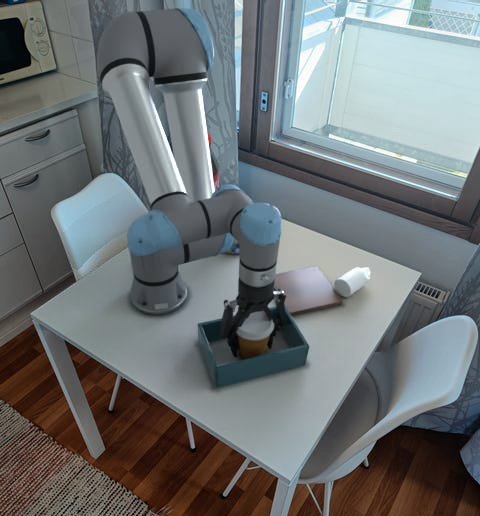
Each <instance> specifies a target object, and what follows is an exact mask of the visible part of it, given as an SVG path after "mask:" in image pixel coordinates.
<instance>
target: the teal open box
mask: <svg viewBox="0 0 480 516" xmlns="http://www.w3.org/2000/svg"><path fill="white" fill-rule="evenodd" d="M284 306H285V305H284ZM269 309H270V311H271V313H272V315H273V317H274V319H276V318H277V310H276V305H275V306H271V307H269ZM235 315H236V314H235ZM235 315H234V314H233V318H234V317H235ZM285 316H286V324H285V325H284V326H282V325H280V326H279V328H280V329H281V330H282V332H283V334H284V335H285V338H286V339H287V341H288V343H289V344H290V346H291V347H290V348H286V349H281V350H277V351H274V352H269V353H264V355H261V356H257V357H253V358H249V359H245V360H241V359H240V360H237V361H234V362H229V363H225V364H221V365H218V364H217V361H216V358H215V356H214V354H213V351H212V348H211V346H210V343H215V342H219V341H223V340H224V339H222V336H221V334H220V332H219V329H220V325H221V321H222V317H221V318H218V319H212V320H208V321H203V322H198V323H197V340H198V347H199V349H200V351H201V354H202V357H203V359H204V362H205V365H206V368H207V370H208V373H209V375H210V378H211V381H212V383H213V387H214V389H220V388H223V387H227V386H232V385H236V384H238V383H242V382H247V381H250V380H254V379H259V378H262V377H265V376H266V377H267V376H269V375H273V374H274V375H275V374H277V373H282V372H286V371H289V370H293V369H296V368H300V367H304V366H306V364H307V361H308V360H307V359H308V354H309V351H310V345H309V343H308V341H307V340H306V338H305V336H304V334H303V333H302V331H301V329H300V328H299V326H298V325H297V323H296V321H295V319H294V318H293V316H291V314H290V313H289V311H288V309H287V308H286V306H285ZM233 318H232V320H233Z"/></svg>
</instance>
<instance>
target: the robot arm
mask: <svg viewBox="0 0 480 516" xmlns="http://www.w3.org/2000/svg"><path fill="white" fill-rule="evenodd" d="M214 58H215V47H214V42H213V37H212V34H211V30H210V28H209V26H208V23H207V21H206V19H205V18H204V17H203V15H202V14H201V13H200V12H199V11H198V10H196V9H195V8H194V9H193V8H183V7H181V8H180V7H174V8H165V9H153V10H140V11H135V10H133V11H125V12H123V13H121V14H118V15H117V16H115V17H113V18H112V20H110V22H109V23H108V24H107V26H106V27H105V29H104V30H103V32H102V34H101V36H100V39H99V42H98V47H97V52H96V70H97V75H98V79H99V82H100V84H101V87H102V90H103V93H105V95H106V96H108V97H109V98H111V100H112V103H113V106H114V109H115V111H116V115H117V118H118V119H119V122H120V124H121V128H122V132H123V133H124V136H125V139H126V142H127V144H128V147H129V150H130V153H131V155H132V158H133V161H134V163H135V164H134V165H135V166H136V169H137V172H138V176H139V178H140V180H141V183H142V187H143V189H144V192H145V194H146V197H147V200H148V203H149V206H150V208H151V210H149V211H148V212H146V214H144V215H141V216H139V217H137V218H135V220H133V221H132V222H131V224H130V226H128V228H127V232H126V237H127V249H128V251H129V256H130V261H131V266H132V267H131V268H132V272H133V279H132V283H131V288H130V292H129V293H130V294H129V295H130V301H131V304H132V306H133V307H134V309H136V310H137V311H139V312H141V313H143V314H145V315H150V316H164V315H168V314H169V315H170V314H171V313H174V312H176V311H178V310H179V309H181V308H182V307H183V306H184V305H185V303H186V301H187V299H188V288H187V285H186V282H185V281H184V278H183V277H182V275H181V273H180V271H179V266H181V265H184V264H189V263H192V262H196V261H199V260H204V259H208V258H210V257H216V256H219V255H220V254H223V253H226V251H228V250H229V249H230V247H231V246H232V244H233V241H234V238H235V239H236V240H237V241H238V243H239V245H240V254H239V257H238V258H239V262H238V280H237V288H238V289H237V296H236V297H235V299H232V300H229V299H224V300H223V308H224V310H223V313H222V317H221V318H222V321H221V325H220V329H219V332H220V334H221V336H222V339H223V340H226V343H227V345H228V347H229V348H230V352H231V354H232V356H233V358H234V359H235V358H238V338H237V336H236V335H237V333H236V331H237V330H238V327H241V326H242V325H243V323H244V321H245V319H246V318H248V317H249V315H250V314H251V313H254V312H260V311H263V310H264V312H265V313H266V315H267V317H268V319H269V321H271V320H273V323H274V329H273V331H272V333H271V334H270V337H269V340H268V343H267V347H266V348H267V349H268V350H272V349H273V344H274V338H275V337H277V335H278V332H279V331H280V330H281V327H280V325H282V326H284V325H285V324H286V316H285V306H284V302H285V299H286V295H285V293H284V292H283V290H282V289H281V288H279V289H278V290H277V291H274V284H275V274H277V265H278V257H279V250H280V249H279V248H280V241H281V236H282V214H281V212H280V210H279V208H277V207H276V206H275V205H270V204H269V203H267V202H254V201H253V200H252V199H251V198H250V196H249V195H248V194H247V193H246V192H245V191H243V190H242V189H241V188H239V186H236V185H235V184H231V183H227V184H222V185H220V186H219V188H218V189H217V190H215V188H214V180H213V173H212V165H211V157H210V150H209V142H208V135H207V134H208V128H207V119H206V113H205V112H206V111H205V106H204V99H203V87H204V86H205V85H206V83H207V81H208V74H207V72H209V71H210V70H212V68H213V66H214V61H215V60H214ZM150 78H153V84H154V88H156V89H157V90H159V92H160V93H161V94H162V95H163V100H164V107H165V112H166V118H167V125H168V129H169V136H170V141H171V146H170V143H169V141H168V138H167V136H166V132H165V130H164V128H163V124H162V122H161V119H160V115H159V114H158V110H157V108H156V105H155V103H154V99H153V97H152V94H151V92H150V89H149V83H150ZM171 147H172V149H171ZM273 300H275V306H276V310H277V318H276V319H274V317H273V315H272V313H271V311H270V309H269V308H270V307H269V305H270V304H271V302H272V301H273ZM236 308H237V312H236ZM235 312H236V313H235ZM234 313H235V317H234V318H233V316H234ZM232 318H233V320H232Z"/></svg>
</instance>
